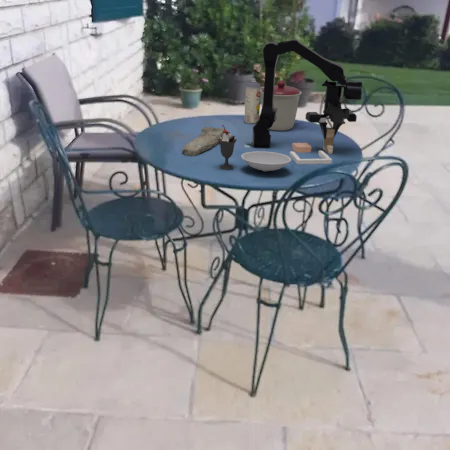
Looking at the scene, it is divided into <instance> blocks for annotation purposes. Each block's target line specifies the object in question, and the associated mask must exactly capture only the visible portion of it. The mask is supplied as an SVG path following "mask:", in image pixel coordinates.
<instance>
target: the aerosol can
mask: <svg viewBox="0 0 450 450" xmlns="http://www.w3.org/2000/svg"><path fill="white" fill-rule="evenodd" d="M261 89H262V87H261V85H260V84H259V83H258V81H256V78H254V77H253V78H251V80H250V82H248V83H247V84H246V86H245V97H244V121H243V123H244V124H247V125H255V123H256V122H257V121H258V120H259V118H260V112H261V111H260V107H261V92H260V90H261Z"/></svg>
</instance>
